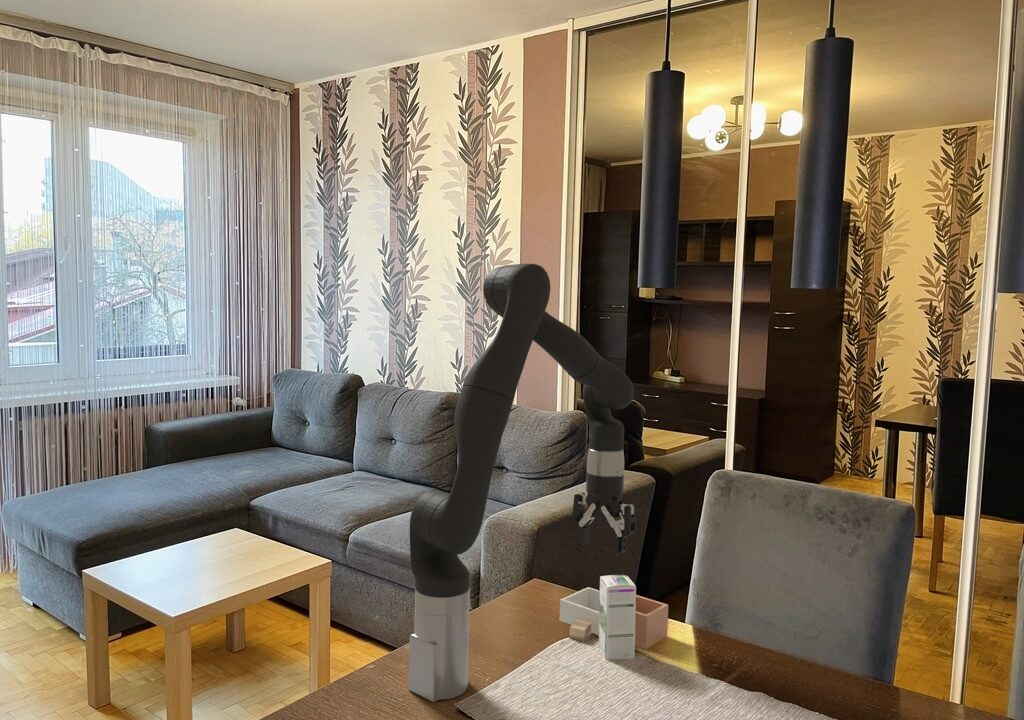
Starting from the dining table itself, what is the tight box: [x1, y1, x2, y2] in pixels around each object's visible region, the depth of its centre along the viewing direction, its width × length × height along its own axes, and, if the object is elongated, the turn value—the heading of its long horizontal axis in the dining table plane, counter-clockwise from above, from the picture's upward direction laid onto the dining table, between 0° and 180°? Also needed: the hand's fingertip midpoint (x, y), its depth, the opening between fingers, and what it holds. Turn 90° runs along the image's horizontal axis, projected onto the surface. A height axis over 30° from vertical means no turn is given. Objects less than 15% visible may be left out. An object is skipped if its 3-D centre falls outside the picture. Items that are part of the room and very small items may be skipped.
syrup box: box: [598, 574, 637, 661], centre depth 139 cm, size 6×6×14 cm
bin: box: [558, 586, 600, 636], centre depth 154 cm, size 10×10×5 cm
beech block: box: [569, 620, 592, 642], centre depth 146 cm, size 4×3×3 cm
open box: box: [635, 594, 669, 650], centre depth 146 cm, size 8×8×7 cm
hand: (602, 549), depth 152 cm, fingers open, 8 cm apart
